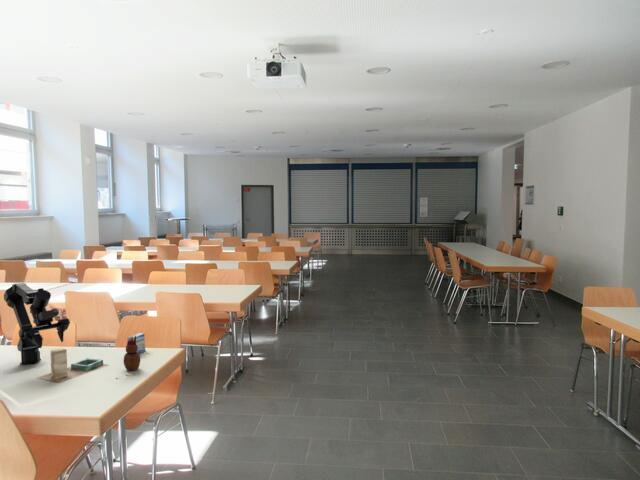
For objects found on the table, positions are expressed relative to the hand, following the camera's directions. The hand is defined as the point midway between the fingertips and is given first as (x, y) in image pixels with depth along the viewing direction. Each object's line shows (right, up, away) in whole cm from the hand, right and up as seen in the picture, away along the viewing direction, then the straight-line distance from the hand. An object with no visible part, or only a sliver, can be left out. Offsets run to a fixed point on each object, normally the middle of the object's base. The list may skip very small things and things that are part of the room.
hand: (50, 343), depth 198 cm
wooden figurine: (+32, -13, +6) cm, 35 cm away
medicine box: (+24, -11, +31) cm, 41 cm away
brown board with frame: (+9, -13, +1) cm, 16 cm away
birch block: (+6, -12, -5) cm, 15 cm away
